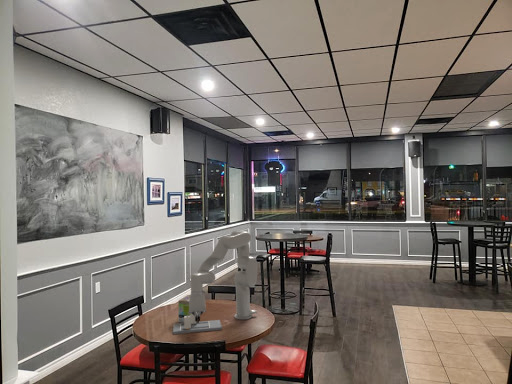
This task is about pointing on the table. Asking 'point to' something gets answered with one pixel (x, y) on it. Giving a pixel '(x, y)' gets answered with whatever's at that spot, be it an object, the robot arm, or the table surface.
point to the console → (198, 327)
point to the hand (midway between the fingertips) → (197, 322)
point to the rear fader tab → (193, 319)
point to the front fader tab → (187, 322)
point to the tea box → (184, 308)
